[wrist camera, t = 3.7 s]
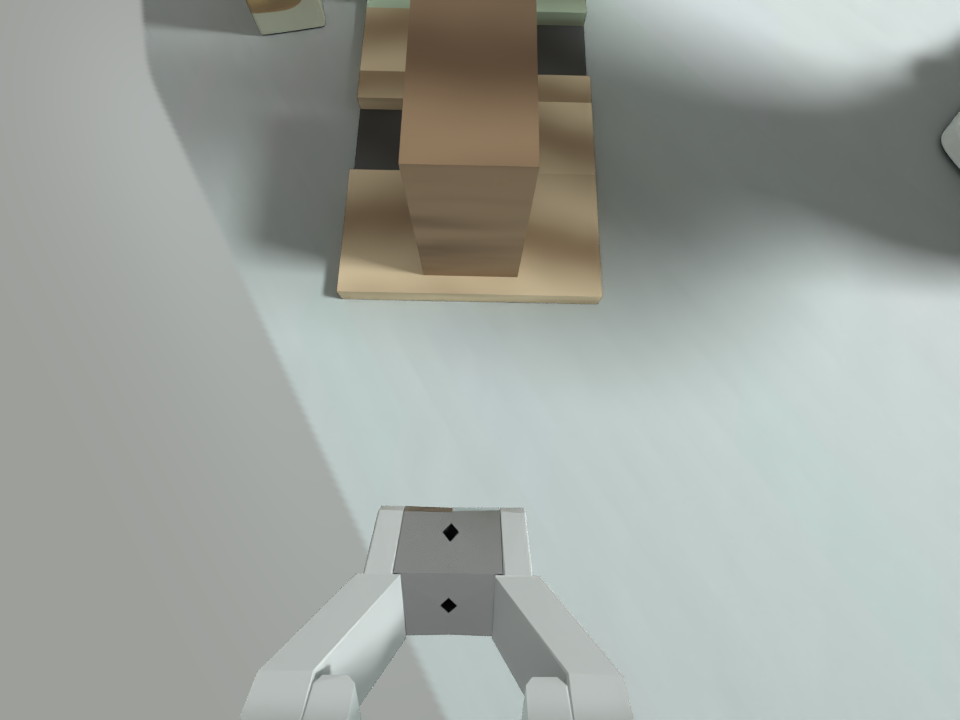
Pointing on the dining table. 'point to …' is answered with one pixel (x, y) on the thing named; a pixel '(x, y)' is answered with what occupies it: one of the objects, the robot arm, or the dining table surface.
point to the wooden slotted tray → (558, 193)
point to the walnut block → (470, 133)
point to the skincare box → (286, 15)
